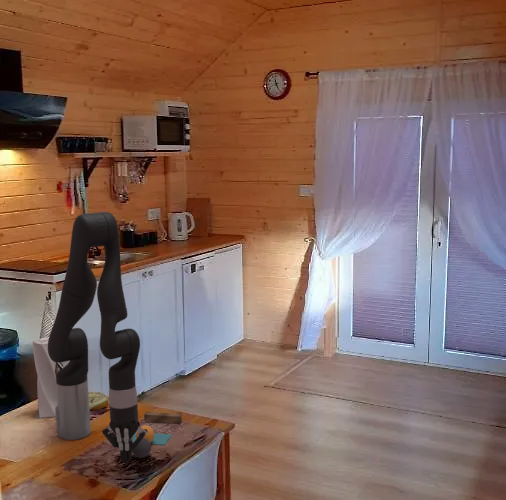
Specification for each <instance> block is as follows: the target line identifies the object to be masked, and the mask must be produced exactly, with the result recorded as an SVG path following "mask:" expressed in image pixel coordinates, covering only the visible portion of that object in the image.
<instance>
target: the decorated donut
mask: <svg viewBox="0 0 506 500" xmlns="http://www.w3.org/2000/svg"><path fill="white" fill-rule="evenodd" d="M88 395H89V411H97V410H100V409H104V408H105V407H106V406H107V404H108V402H109V397H108V396H107V395H106V394H105V393H104V392H97V391H88Z"/></svg>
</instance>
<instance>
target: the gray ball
mask: <svg viewBox="0 0 506 500" xmlns="http://www.w3.org/2000/svg"><path fill="white" fill-rule="evenodd" d="M134 442H135V441H134ZM151 450H152V444H150V442H149V441H148V440H147V439H145V438H143V439H142V440H141V441H140V443H139V444H138V445H137V446H136V447H135V449H132V455H134V457H136V458H138V459H143V458H144V459H145V457H147V456H149V454H150V453H151Z"/></svg>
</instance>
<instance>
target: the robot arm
mask: <svg viewBox="0 0 506 500" xmlns="http://www.w3.org/2000/svg"><path fill="white" fill-rule="evenodd" d="M70 238H71V239H70V248H69V256H68V264H67V268H66V272H65V276H64V279H63V283H62V289H61V293H60V299H59V304H58V308H57V313H56V315H55V320H54V322H53V325H52V327H51V330H50V335H49V336H48V338H49V340H48V354H49V357H50V358H51V360H52V361H54V362H56V364H57V363H65V362H68V363H67V364H66V365H65V366H64V367H63V368H61V369H60V370H58V371H57V373H55V374H56V385H57V399H58V406H56V408H55V412H56V417H55V421H56V422H55V424H56V426H55V427H56V437H57V438H61V439H62V440H67V441H74V440H75V441H76V440H81V439H84V438H86V437H87V436H90V434H91V432H92V431H91V430H92V429H91V414H90V412H91V410H89V395H88V392H89V383H88V374H89V342H88V341H89V340H88V337H87V335H86V332H85V330H83V329H82V328H81V327H75V325H76V324H77V323H78V322H79V321H81V319H82V318H83V317H84V315H86V313H87V312H88V311H89V310H90V309H91V307H92V306H93V303H94V300H95V296H96V298H97V302H98V303H97V304H98V307H99V309H98V310H99V312H100V313H99V314H100V337H99V348H100V352H101V354H102V355H103V357H105V358H106V359H107V360H114V359H118V358H120V359H119V361H117V362H116V363H114V364H113V365H111V366H110V367H109V369H108V388H109V390H108V403H109V404H108V405H109V407H108V408H109V419H110V422H109V425H107V426H105V428H103V429H102V430H101V433H102V434H103V436H105V438H106V440H107V441H108V442H109V443H110V444H111V446H112V447H113V448H116V449H119V453H120V454H119V457H120V461H122V464H123V463H124V464H129V462H130V461H131V460H132V458H133V453H132V449H135V447H136V446H137V445H138V444H139V443H140V441H141V440H142V439H143V437H144V436H145V435H146V434H147V432H148V430H147V429H142V428H141V424H140V422H139V412H138V411H139V408H138V400H139V399H138V392H137V386H136V385H137V384H136V367H137V363H138V359H139V354H140V349H141V339H140V336H139V334H138V332H137V331H136V330H135V329H133V328H125V329H121V330H116V326H117V324H119V323H120V322H122V321H124V320H126V319H127V318H128V307H127V305H126V298H125V293H124V288H123V282H122V280H123V279H122V267H121V265H122V263H121V247H120V246H121V245H120V243H121V242H120V233H119V226H118V222H117V219H116V218H115V216H114V214H113V213H111V212H107V211H102V212H92V213H90V212H89V213H81V214H78V216H77V217H76V218H75V219H74V222H73V225H72V230H71V237H70ZM98 247H103V251H104V255H105V256H104V265H103V269H102V272H101V276H100V277H99V281H98V282H97V279H96V276H95V274H94V271H93V270H92V268H91V267H90V265H89V263H88V256H89V255H88V254H89V251H90V249H92V248H98ZM136 431H138V433H137V436H138V438H137V439H136V440H135V442H133V443H132V440H133V435H134V434H135V433H136Z"/></svg>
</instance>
